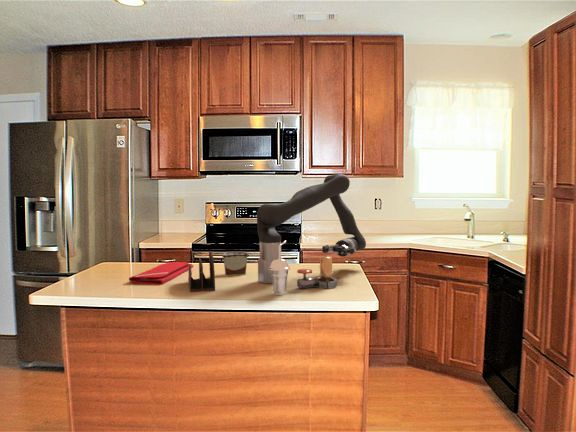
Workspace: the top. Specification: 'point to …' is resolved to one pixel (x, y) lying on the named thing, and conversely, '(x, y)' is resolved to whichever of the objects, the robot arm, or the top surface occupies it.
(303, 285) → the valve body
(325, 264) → the copper cylinder
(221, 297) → the top surface
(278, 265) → the cup with straw
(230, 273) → the food container
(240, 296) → the top surface
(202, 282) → the letter holder
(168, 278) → the dish drying mat
